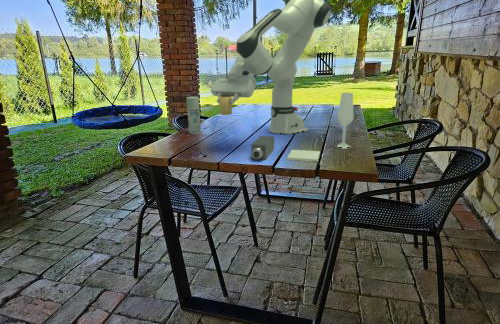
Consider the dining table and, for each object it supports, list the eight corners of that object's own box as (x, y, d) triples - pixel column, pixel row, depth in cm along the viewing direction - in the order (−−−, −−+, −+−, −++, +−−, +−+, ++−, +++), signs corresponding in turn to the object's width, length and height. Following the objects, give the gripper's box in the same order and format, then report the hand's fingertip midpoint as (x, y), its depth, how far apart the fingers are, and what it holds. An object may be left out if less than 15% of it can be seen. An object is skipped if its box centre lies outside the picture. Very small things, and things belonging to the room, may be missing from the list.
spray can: (189, 134, 171) (186, 98, 165) (188, 132, 177) (186, 96, 171) (201, 133, 172) (198, 97, 166) (200, 131, 178) (198, 96, 172)
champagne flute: (350, 148, 137) (355, 94, 130) (335, 147, 139) (338, 93, 132) (350, 145, 143) (355, 92, 136) (335, 144, 145) (339, 92, 138)
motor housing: (262, 147, 142) (262, 134, 140) (275, 147, 141) (275, 135, 139) (249, 161, 122) (249, 146, 120) (263, 162, 120) (263, 147, 119)
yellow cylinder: (229, 112, 133) (228, 93, 131) (233, 114, 129) (233, 94, 127) (218, 113, 131) (217, 94, 129) (222, 115, 127) (221, 95, 125)
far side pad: (291, 151, 134) (291, 149, 133) (320, 153, 131) (320, 151, 130) (287, 159, 123) (287, 157, 123) (317, 161, 120) (318, 159, 119)
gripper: (215, 72, 136) (202, 97, 131) (254, 72, 125) (241, 99, 120) (222, 82, 141) (209, 106, 136) (260, 83, 130) (247, 109, 125)
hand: (224, 103), depth 128 cm, fingers closed on yellow cylinder, 5 cm apart
